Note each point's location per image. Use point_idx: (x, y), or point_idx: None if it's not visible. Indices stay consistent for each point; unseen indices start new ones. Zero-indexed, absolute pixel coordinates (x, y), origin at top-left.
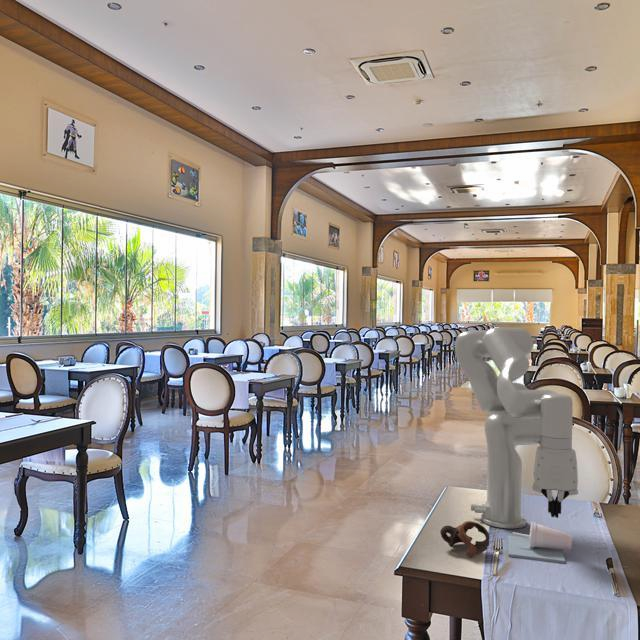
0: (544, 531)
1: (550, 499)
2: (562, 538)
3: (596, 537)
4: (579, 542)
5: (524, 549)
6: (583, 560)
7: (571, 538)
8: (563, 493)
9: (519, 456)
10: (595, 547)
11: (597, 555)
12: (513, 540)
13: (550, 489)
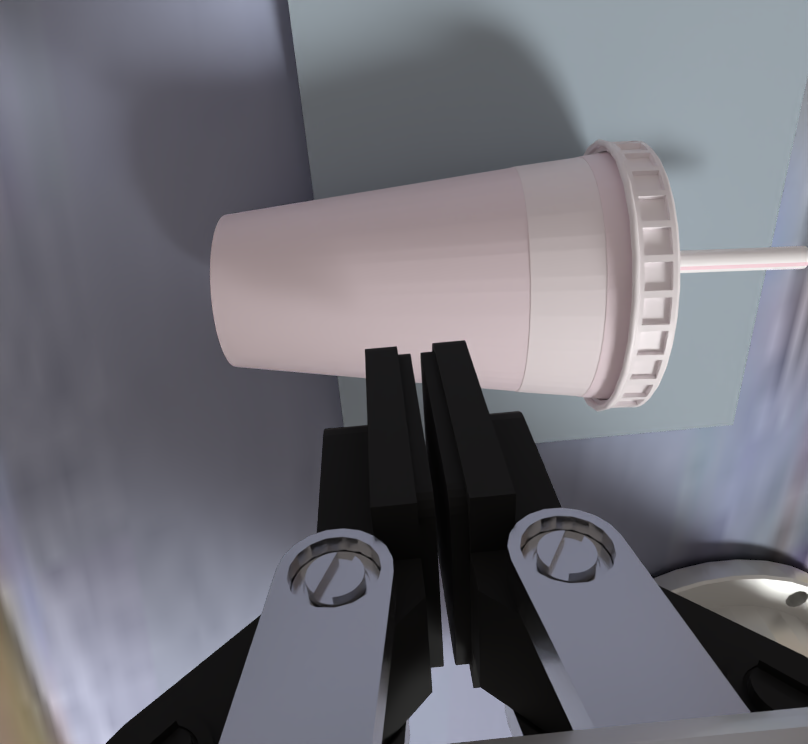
0: (516, 234)
1: (555, 536)
2: (312, 229)
3: (117, 642)
4: (212, 522)
5: (651, 143)
6: (134, 143)
7: (218, 257)
8: (239, 730)
9: None
10: (92, 475)
11: (46, 318)
12: (710, 329)
13: (716, 717)
